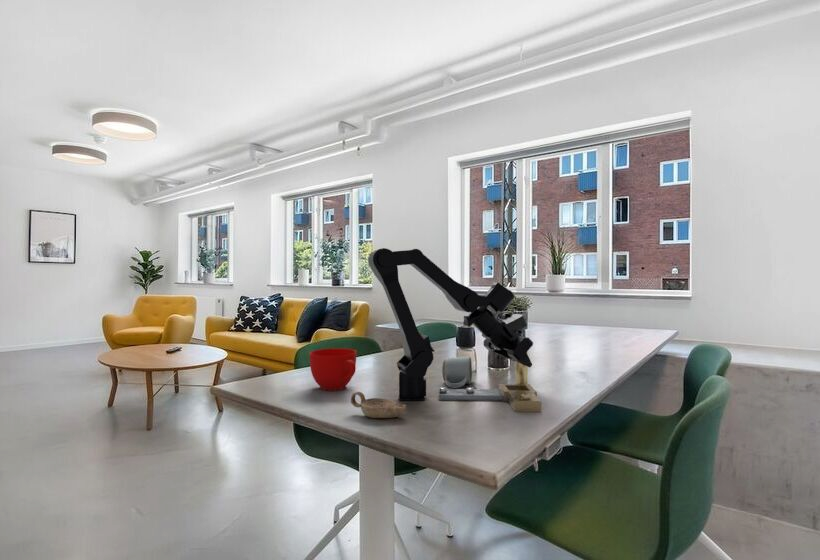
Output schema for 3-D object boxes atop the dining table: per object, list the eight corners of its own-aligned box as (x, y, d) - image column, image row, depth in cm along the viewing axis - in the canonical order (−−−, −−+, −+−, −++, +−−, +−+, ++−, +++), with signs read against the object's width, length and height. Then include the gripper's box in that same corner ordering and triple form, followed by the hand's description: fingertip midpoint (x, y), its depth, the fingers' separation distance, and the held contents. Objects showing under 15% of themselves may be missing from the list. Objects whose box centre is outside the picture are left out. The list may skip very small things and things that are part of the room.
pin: (515, 390, 118) (515, 342, 118) (512, 386, 122) (512, 340, 122) (530, 390, 118) (530, 342, 118) (527, 386, 122) (527, 340, 122)
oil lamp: (411, 415, 97) (411, 392, 97) (397, 425, 90) (396, 401, 90) (360, 408, 103) (360, 387, 103) (343, 417, 96) (343, 395, 96)
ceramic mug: (445, 379, 131) (444, 353, 131) (472, 380, 130) (472, 354, 130) (440, 388, 121) (439, 361, 121) (469, 389, 119) (469, 362, 119)
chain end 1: (439, 400, 108) (439, 392, 108) (438, 392, 116) (438, 384, 116) (536, 401, 107) (536, 392, 107) (529, 393, 115) (529, 384, 115)
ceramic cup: (332, 399, 109) (332, 360, 109) (301, 387, 122) (301, 351, 122) (374, 390, 118) (373, 354, 118) (340, 380, 131) (340, 346, 131)
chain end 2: (510, 411, 99) (510, 396, 99) (498, 392, 115) (498, 380, 115) (545, 411, 99) (545, 396, 99) (529, 393, 115) (529, 380, 115)
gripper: (526, 306, 110) (564, 348, 113) (493, 302, 128) (526, 338, 131) (498, 338, 108) (537, 380, 111) (468, 330, 126) (502, 366, 129)
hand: (525, 364), depth 120 cm, fingers open, 5 cm apart
